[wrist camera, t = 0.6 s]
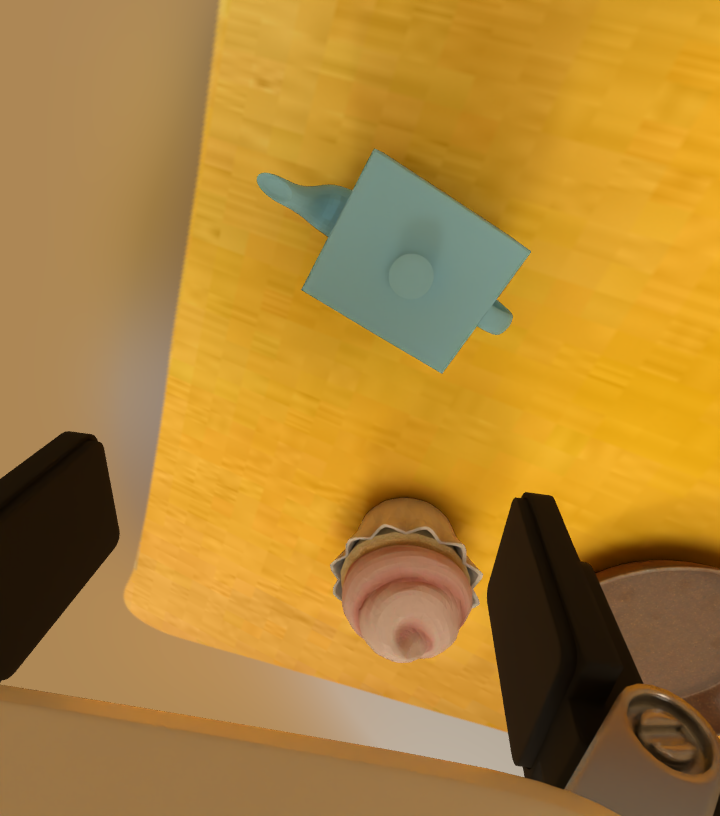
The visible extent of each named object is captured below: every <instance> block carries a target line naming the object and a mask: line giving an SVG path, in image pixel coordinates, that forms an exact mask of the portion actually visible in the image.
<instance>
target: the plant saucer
mask: <svg viewBox="0 0 720 816" xmlns="http://www.w3.org/2000/svg"><path fill="white" fill-rule="evenodd" d="M596 576H597V579H598V581H599V583H600V585H601V588H602V590H603V592H604V594H605V597H606V599H607V601H608V604H609V606H610V608H611V610H612V613H613V615H614V617H615V620H616V622H617V624H618V626H619V629H620V631H621V633H622V636H623V638H624V640H625V642H626V645H627V647H628V649H629V651H630V654H631V656H632V658H633V661H634V663H635V665H636V667H637V670H638V672H639V674H640V677H641V679H642V681H643V683H644V684H649V685H654V686H657V687H660V688H663V689H666V690H668V691H670V692H672V693H673V694H675V695H677V696H679V697H680V698H682V699H684V700H685V701H686V702H687V703H689V704H690V705H691V706H692V707H693V708H695V709H696V710H697V711H698V712H699V713H700V714H701V715H702V716H703V717H704V718H705V719H706V721H707V722H708V723H709V724H710V725H711V726H712V728H713V729H714V731H715V733H716V734H717V736H720V568H716V567H713V566H708V565H703V564H698V563H691V562H684V561H672V560H651V561H640V562H634V563H627V564H622V565H618V566H615V567H612V568H609V569H606V570H603V571H600V572H598V573H596Z"/></svg>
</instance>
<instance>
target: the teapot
mask: <svg viewBox="0 0 720 816" xmlns="http://www.w3.org/2000/svg"><path fill="white" fill-rule="evenodd" d="M257 183H258V185H259V187H260V188H261V190H262V191H263V192H264V193H265V194H266V195H268V196H269V197H270V198H272V199H273V200H274V201H276V202H278V203H280V204H282V205H284V206H286V207H287V208H289V209H291V210H293V211H294V212H296V213H297V214H299V215H300V216H302V217H303V218H304V219H305V220H306V221H308V222H309V223H310V224H311V225H312V226H314V227H315V228H316V229H318V230H319V231H320V232H322V233H323V234H325V235H326V236H328V239H327V241H326V243H325V245H324V247H323V249H322V251H321V253H320V254H319V256H318V258H317V260H316V262H315V264H314V266H313V268H312V270H311V272H310V274H309V276H308V278H307V280H306V282H305V284H304V286H303V287H302V289H301V290H302V291H304V292H306V293H307V294H309V295H311V296H312V297H314V298H316V299H317V300H319V301H321V302H322V303H324V304H326V305H327V306H329V307H331V308H332V309H334V310H336V311H337V312H339V313H341V314H342V315H344V316H346V317H347V318H349V319H351V320H352V321H354V322H356V323H357V324H359V325H361V326H362V327H364V328H366V329H367V330H369V331H371V332H372V333H374V334H376V335H377V336H379V337H381V338H382V339H384V340H386V341H388V342H389V343H391V344H393V345H394V346H396V347H398V348H399V349H401V350H403V351H405V352H406V353H408V354H410V355H411V356H413V357H415V358H416V359H418V360H420V361H421V362H423V363H425V364H426V365H428V366H430V367H432V368H433V369H435V370H437V371H438V372H440V373H443V372H444V371H445V369H446V368H447V366H448V365H449V364H450V362H451V361H452V360H453V358H454V357H455V355H456V354H457V353H458V351H459V350H460V349H461V347H462V346H463V345H464V343H465V342H466V340H467V339H468V338H469V336H470V335H471V334H472V332H473V331H474V329H475V328H476V327H477V326H478V327H479V328H481V329H483V330H485V331H487V332H489V333H491V334H495V335H499V334H501V333H503V332H504V331H505V330H506V329H507V328H508V327H509V325H510V324H511V322H512V318H513V316H512V313H511V312H510V311H509V310H508V309H507V308H506V307H505V306H504V305H502V304H501V303H500V302H499V301H498V300H496V299H497V298H498V297H499V295H500V294H501V292H502V291H503V290H504V288H505V287H506V286H507V284H508V283H509V282H510V280H511V279H512V277H513V276H514V275H515V273H516V272H517V271H518V269H519V268H520V266H521V265H522V264H523V262H524V261H525V260H526V258H527V257H528V256H529V254H530V253H531V251H530V250H528V249H527V248H526V247H524V246H523V245H522V244H520V243H519V242H517V241H516V240H515V239H513V238H512V237H511V236H509V235H508V234H506V233H505V232H503V231H502V230H500V229H499V228H497V227H496V226H494V225H493V224H491V223H490V222H488V221H486V220H485V219H483V218H482V217H480V216H479V215H477V214H476V213H474V212H473V211H471V210H470V209H468V208H467V207H465V206H464V205H462V204H461V203H459V202H458V201H456V200H455V199H453V198H452V197H450V196H449V195H447V194H446V193H444V192H443V191H441V190H440V189H438V188H436V187H435V186H433V185H432V184H430V183H429V182H427V181H426V180H424V179H423V178H421V177H420V176H418V175H417V174H415V173H414V172H412V171H411V170H409V169H408V168H406V167H405V166H403V165H401V164H400V163H398V162H397V161H395V160H394V159H392V158H391V157H389V156H388V155H386V154H385V153H383V152H381V151H379V150H377V149H375V148H374V150H373V152H372V154H371V155H370V157H369V159H368V161H367V163H366V165H365V167H364V169H363V171H362V173H361V175H360V177H359V179H358V181H357V183H356V185H355V187H354V188H353V190H350V189H347V188H344V187H342V186H337V185H320V186H301V185H298V184H294V183H292V182H290V181H288V180H286V179H284V178H281V177H279V176H277V175H274V174H270V173H261V174H259V175H258V176H257Z"/></svg>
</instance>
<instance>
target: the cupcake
mask: <svg viewBox="0 0 720 816" xmlns="http://www.w3.org/2000/svg"><path fill="white" fill-rule="evenodd" d="M330 567H331V571H332V572H333V574H334V575H335V576H336V578H337V579H338V580H337V582H336V584H335V585H334V587H333V594H334V595H335V596H336V597H337V598H338V599H339V600H341V601H342V607H343V610H344V614H345V616H346V617H347V619H348V621H349V623H350V625H351V626H352V628H353V629H354V631H355V632H356V633H357V634H358V635H359V636H361V637H362V638H363V639H364V640H365V641H366V643H367V644H368V645H369V646H370V647H371V648H372V649H373V651H374V652H375V653H377V654H378V655H380V656H382V657H384V658H386V659H389V660H391V661H394V662H399V663H406V662H412V661H414V660H416V659H422V658H431V657H433V656H436V655H438V654H440V653H441V652H443V651H444V650H446V649H447V648H448V647H449V646H451V644H452V643H453V642H454V641H455V640H456V638H457V634H458V632H459V629H460V627H461V626H462V625H463V624H464V622H465V621H466V619H467V617H468V615H469V613H470V611H471V609H472V608H474V607H476V606H478V605H479V599H478V597H477V596H476V594H475V592H474V590H473V588H474V587H475V586H476V585H477V584H478V582H479V581H480V580H481V579H482V576H483V574H482V573H481V572H480V571H479V569H478V568H477V567H476V566H475V565H474V564H473V563H472V561H471V560H470V559H469V558H468V557H467V556H466V548H465V545H464V544H462V543H461V542H460V541H459V540H458V539H457V538H456V535H455V533H454V531H453V529H452V527H451V524H450V522H449V520H448V519H447V518H446V517H445V515H444V514H443V513H442V512H441V511H439V510H438V509H437V508H436V507H434V506H433V505H431V504H430V503H427V502H425V501H422V500H419V499H414V498H408V497H405V498H395V499H390V500H387V501H384V502H382V503H380V504H379V505H377V506H376V507H374V508H373V509H372V510H370V511H369V512H368V513H367V514H366V515H365V517H364V519H363V521H362V523H361V524H360V526H359V528H358V530H357V532H356V534H355V535H353V536H352V537H351V538H350V539H349V540H348V542H347V544H346V549H345V550H344V551H343V552H342V553H341V554H340V555H339V556H338V557H337V558H336V559H335V560H334V561H333V562H332V563H331V564H330Z"/></svg>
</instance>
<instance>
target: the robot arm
mask: <svg viewBox="0 0 720 816" xmlns="http://www.w3.org/2000/svg"><path fill="white" fill-rule="evenodd" d="M119 534H120V533H119V526H118V521H117V515H116V510H115V505H114V499H113V494H112V489H111V483H110V478H109V473H108V468H107V462H106V457H105V451H104V447H103V445H102V443H100V442H98V441H97V438H96V437H95V436H94V435H92V434H85V433H77V432H70V431H68V432H64V433H62V434H60V435H59V436H58V437H56V438H55V439H54V440H52V441H51V442H50V443H48V444H47V445H46V446H44V447H43V448H42V449H40V450H39V451H37V452H36V453H35V454H33V455H32V456H31V457H29V458H28V459H27V460H25V461H24V462H23V463H21V464H20V465H18V466H17V467H16V468H14V469H13V470H12V471H10V472H9V473H8V474H6V475H5V476H4V477H2V478H1V479H0V682H1V681H2V680H5V679H8V678H9V677H10V676H12V675H13V674H14V673H15V672H16V670H17V669H18V668H19V667H20V665H21V664H22V663H23V662H24V660H25V659H26V658H27V657H28V655H29V654H30V653H31V652H32V651H33V649H34V648H35V647H36V645H37V644H38V643H39V642H40V640H41V639H42V638H43V637H44V635H45V634H46V633H47V632H48V630H49V629H50V628H51V627H52V626H53V624H54V623H55V622H56V621H57V619H58V618H59V617H60V616H61V614H62V613H63V612H64V611H65V609H66V608H67V607H68V605H69V604H70V603H71V602H72V601H73V599H74V598H75V597H76V595H77V594H78V593H79V592H80V591H81V589H82V588H83V587H84V586H85V584H86V583H87V582H88V581H89V579H90V578H91V577H92V576H93V574H94V573H95V572H96V570H97V569H98V568H99V567H100V566H101V564H102V563H103V562H104V561H105V559H106V558H107V557H108V556H109V554H110V553H111V552H112V551H113V549H114V548H115V547H116V545H117V543H118V540H119ZM487 603H488V610H489V616H490V622H491V629H492V635H493V641H494V647H495V654H496V660H497V666H498V672H499V679H500V685H501V691H502V697H503V704H504V710H505V716H506V722H507V729H508V735H509V741H510V747H511V754H512V758H513V761H514V764H515V765H516V766H522V767H523V770H524V776H525V778H524V777H520V776H516V775H512V774H508V773H504V772H500V771H495V770H491V769H487V768H482V767H477V766H471V765H466V764H461V763H456V762H451V761H445V760H440V759H435V758H430V757H425V756H419V755H414V754H409V753H404V752H399V751H392V750H387V749H382V748H375V747H370V746H364V745H358V744H352V743H346V742H341V741H335V740H330V739H323V738H317V737H312V736H306V735H301V734H295V733H288V732H283V731H277V730H272V729H266V728H260V727H254V726H248V725H242V724H236V723H231V722H224V721H219V720H213V719H206V718H201V717H195V716H189V715H183V714H177V713H171V712H165V711H158V710H153V709H147V708H141V707H135V706H129V705H123V704H116V703H111V702H105V701H98V700H93V699H87V698H80V697H73V696H68V695H61V694H55V693H49V692H43V691H37V690H31V689H24V688H18V687H12V686H6V685H0V816H720V739H719V738H718V736H717V734H716V733H715V731H714V729H713V728H712V726H711V725H710V724H709V723H708V722H707V721H706V719H705V718H704V717H703V716H702V715H701V714H700V713H699V712H698V711H697V710H696V709H695V708H693V707H692V706H691V705H690V704H689V703H687V702H686V701H685V700H684V699H682V698H680V697H679V696H677V695H675V694H673V693H672V692H670V691H668V690H666V689H663V688H660V687H657V686H654V685H649V684H644V683H643V681H642V679H641V677H640V674H639V672H638V670H637V667H636V665H635V663H634V661H633V658H632V656H631V654H630V651H629V649H628V647H627V645H626V642H625V640H624V638H623V636H622V633H621V631H620V629H619V626H618V624H617V622H616V620H615V617H614V615H613V613H612V610H611V608H610V606H609V604H608V601H607V599H606V597H605V594H604V592H603V590H602V588H601V585H600V583H599V581H598V579H597V576H596V574H595V572H594V570H593V568H592V567H591V565H589V564H588V563H587V562H580V560H579V558H578V555H577V553H576V550H575V548H574V546H573V543H572V541H571V538H570V536H569V533H568V531H567V529H566V526H565V524H564V521H563V519H562V516H561V514H560V512H559V509H558V507H557V504H556V502H555V500H554V498H553V497H552V496H550V495H543V494H535V493H528V492H525V493H524V494H523V495H522V497H521V498H514V499H513V501H512V504H511V508H510V511H509V515H508V518H507V522H506V525H505V528H504V532H503V535H502V539H501V542H500V546H499V549H498V553H497V556H496V560H495V563H494V567H493V570H492V574H491V577H490V581H489V584H488V590H487Z"/></svg>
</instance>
